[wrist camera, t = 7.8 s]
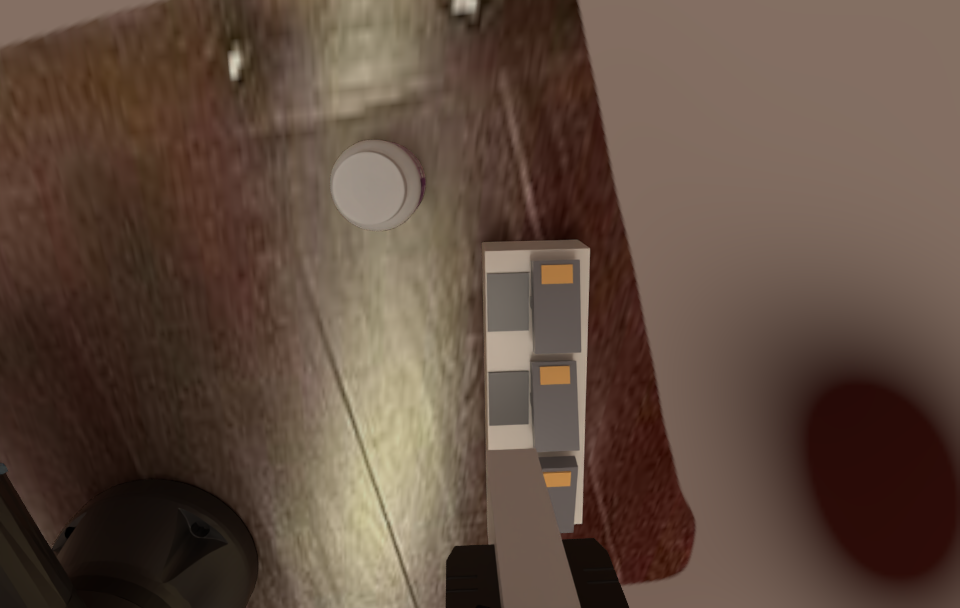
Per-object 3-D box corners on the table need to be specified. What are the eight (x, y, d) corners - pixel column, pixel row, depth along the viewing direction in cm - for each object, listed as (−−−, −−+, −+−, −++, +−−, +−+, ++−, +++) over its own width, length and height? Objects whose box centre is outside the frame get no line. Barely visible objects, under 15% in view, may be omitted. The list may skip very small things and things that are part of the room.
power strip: (486, 497, 48) (490, 534, 43) (481, 242, 42) (485, 253, 38) (571, 493, 48) (584, 529, 43) (577, 239, 42) (592, 250, 38)
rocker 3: (530, 521, 43) (532, 535, 42) (532, 457, 41) (534, 470, 40) (570, 519, 43) (573, 533, 42) (574, 455, 41) (578, 468, 40)
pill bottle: (438, 161, 41) (434, 165, 31) (408, 231, 42) (396, 254, 32) (366, 128, 40) (340, 120, 31) (337, 199, 41) (304, 213, 32)
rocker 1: (532, 351, 39) (535, 354, 37) (530, 260, 38) (533, 260, 37) (577, 349, 39) (581, 352, 37) (576, 259, 38) (580, 259, 37)
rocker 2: (532, 448, 40) (535, 452, 39) (529, 361, 40) (532, 362, 39) (576, 446, 40) (580, 450, 39) (572, 359, 40) (576, 361, 39)
